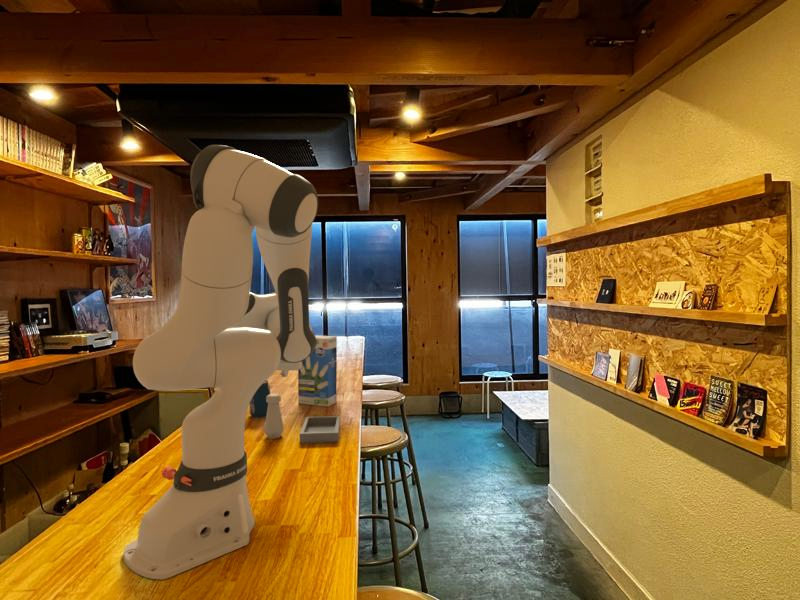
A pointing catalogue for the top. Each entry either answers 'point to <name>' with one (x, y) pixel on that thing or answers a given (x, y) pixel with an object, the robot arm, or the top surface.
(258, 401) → the soda can
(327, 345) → the string lights box
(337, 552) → the top surface
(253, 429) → the top surface
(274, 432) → the salt shaker
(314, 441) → the trough
